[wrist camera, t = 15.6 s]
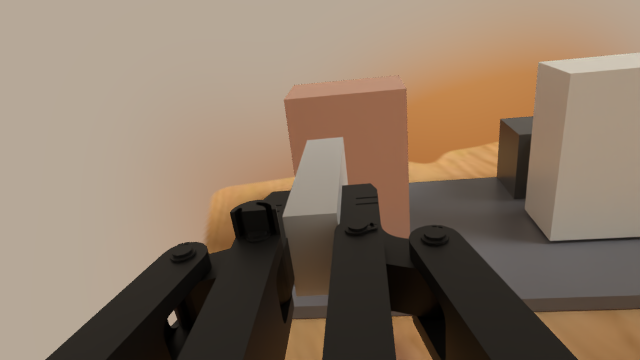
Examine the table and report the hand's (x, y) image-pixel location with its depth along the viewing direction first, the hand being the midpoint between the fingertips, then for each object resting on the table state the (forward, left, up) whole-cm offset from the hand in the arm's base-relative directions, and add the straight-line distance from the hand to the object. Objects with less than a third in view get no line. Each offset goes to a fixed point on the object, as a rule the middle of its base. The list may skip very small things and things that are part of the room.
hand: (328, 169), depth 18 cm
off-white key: (-21, +9, -11) cm, 25 cm away
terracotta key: (-12, -6, -11) cm, 18 cm away
